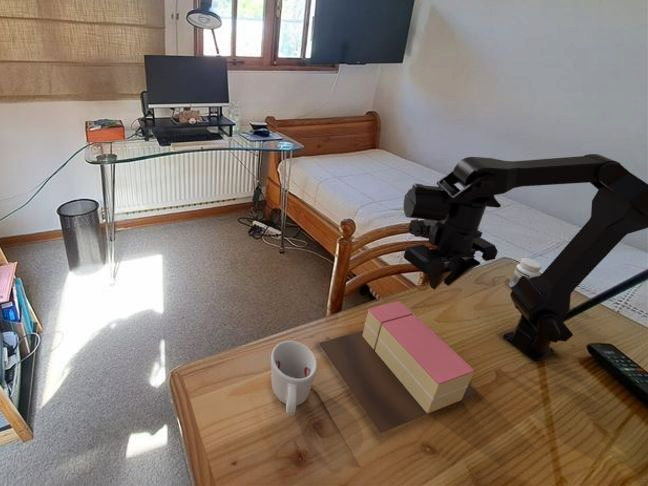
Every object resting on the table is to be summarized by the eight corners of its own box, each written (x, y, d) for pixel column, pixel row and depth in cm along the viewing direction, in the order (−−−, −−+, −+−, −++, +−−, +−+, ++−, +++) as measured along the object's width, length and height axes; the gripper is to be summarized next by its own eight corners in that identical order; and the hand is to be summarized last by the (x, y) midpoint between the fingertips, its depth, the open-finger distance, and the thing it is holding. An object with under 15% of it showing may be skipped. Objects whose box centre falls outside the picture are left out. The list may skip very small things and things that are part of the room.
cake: (405, 341, 71) (414, 314, 69) (461, 400, 60) (475, 370, 57) (374, 350, 69) (381, 323, 66) (427, 414, 58) (439, 383, 55)
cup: (312, 436, 55) (319, 403, 52) (263, 424, 56) (267, 391, 53) (311, 375, 65) (316, 344, 62) (269, 366, 66) (273, 336, 63)
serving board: (400, 322, 77) (401, 319, 77) (476, 397, 62) (477, 393, 61) (317, 346, 71) (318, 342, 70) (378, 436, 55) (379, 433, 55)
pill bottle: (526, 285, 91) (538, 259, 88) (534, 296, 87) (547, 270, 84) (505, 280, 92) (516, 255, 89) (512, 292, 88) (524, 265, 85)
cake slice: (391, 327, 75) (399, 300, 72) (404, 340, 72) (413, 313, 69) (361, 335, 72) (368, 308, 70) (373, 349, 69) (381, 322, 66)
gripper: (458, 198, 76) (439, 256, 81) (392, 208, 70) (377, 270, 76) (510, 223, 66) (485, 287, 72) (438, 237, 60) (417, 305, 66)
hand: (439, 286), depth 71 cm, fingers open, 4 cm apart
